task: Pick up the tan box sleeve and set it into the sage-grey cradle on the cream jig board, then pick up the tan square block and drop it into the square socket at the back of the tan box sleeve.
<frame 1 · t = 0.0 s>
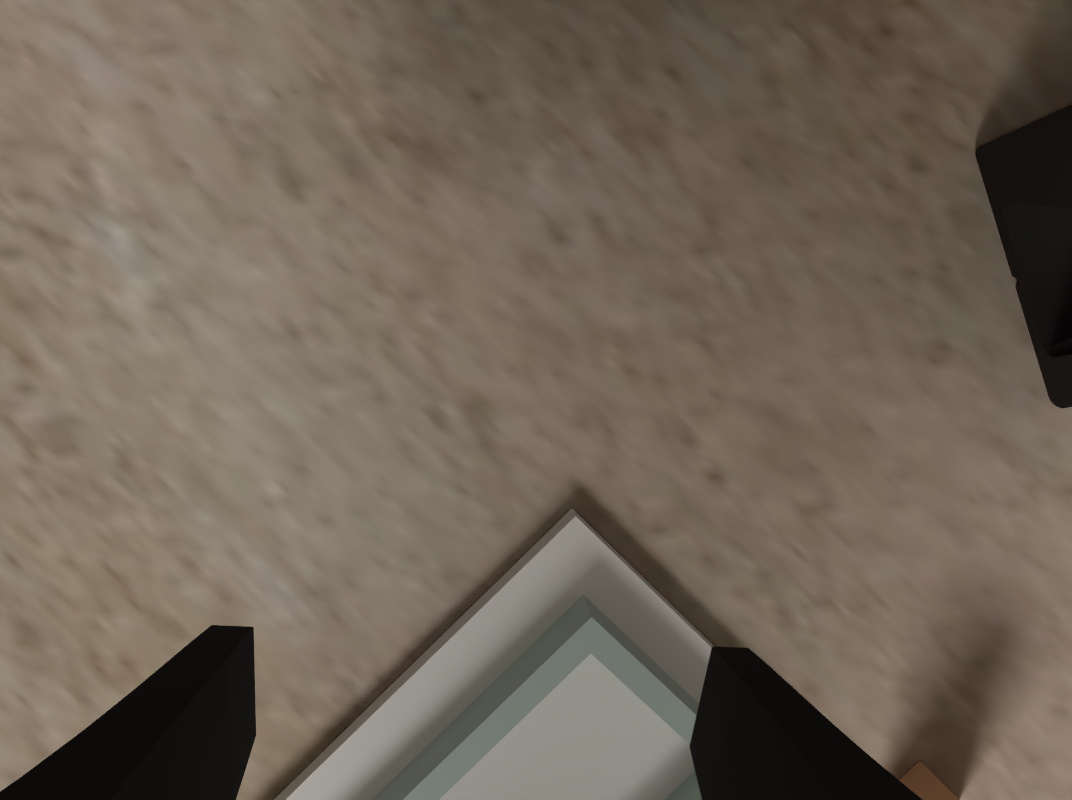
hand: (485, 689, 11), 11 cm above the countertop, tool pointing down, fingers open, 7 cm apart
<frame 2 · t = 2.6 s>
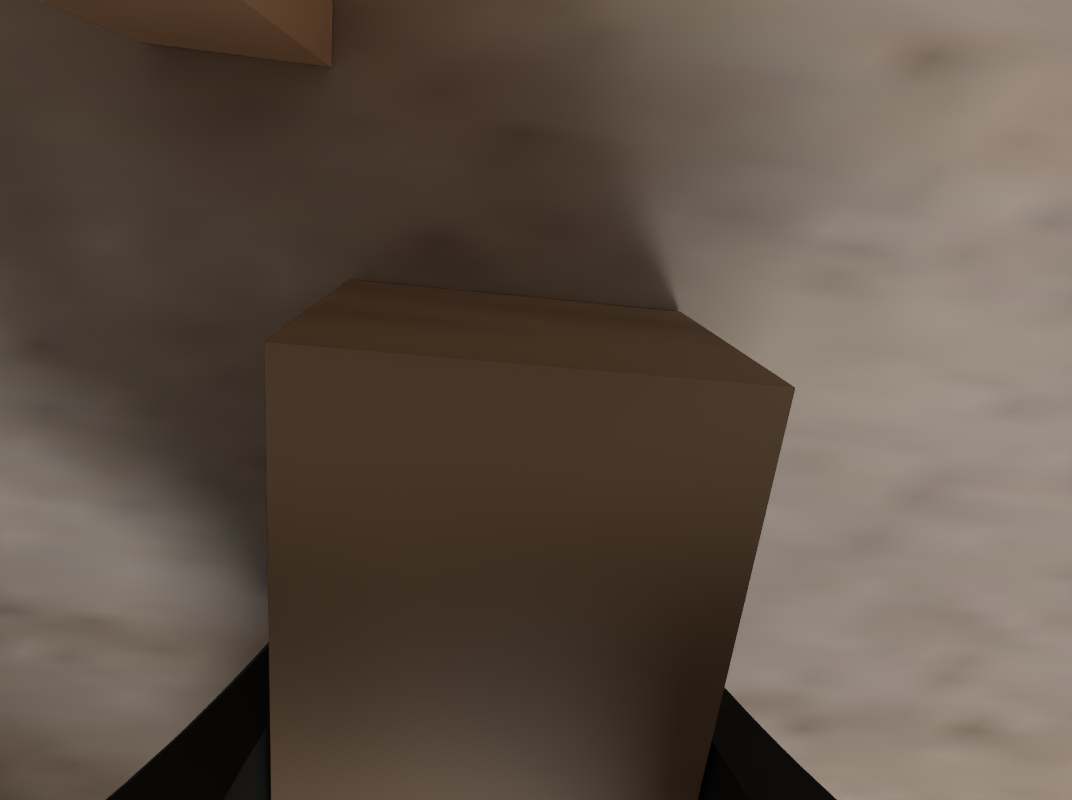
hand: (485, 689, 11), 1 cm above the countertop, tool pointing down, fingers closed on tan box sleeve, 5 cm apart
tan box sleeve: (484, 632, 12), on the countertop, touching gripper
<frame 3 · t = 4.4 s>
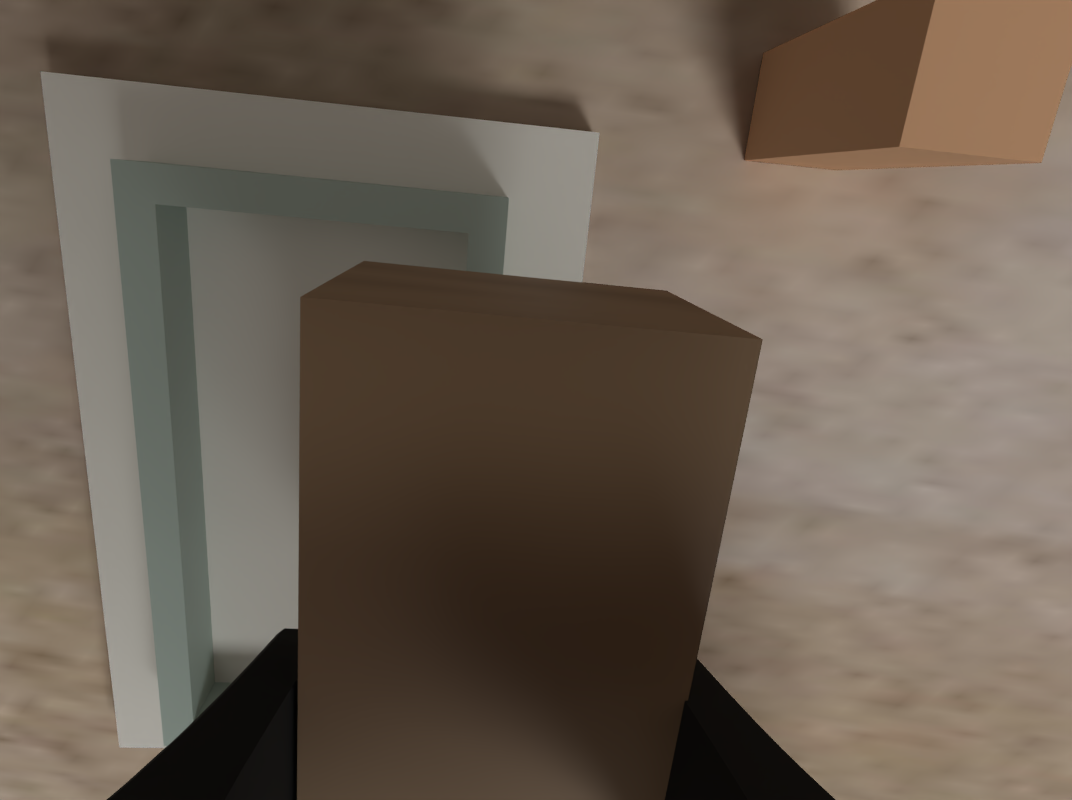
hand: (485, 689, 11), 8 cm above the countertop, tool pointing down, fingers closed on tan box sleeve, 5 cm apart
tan box sleeve: (487, 594, 13), point 6 cm above the countertop, touching gripper
cradle: (336, 464, 18), on the countertop
tan square block: (800, 113, 16), on the countertop
when the fingers open (3 cm above the countertop, at t = 6.2 s): tan box sleeve stays where it is, resting on cradle.
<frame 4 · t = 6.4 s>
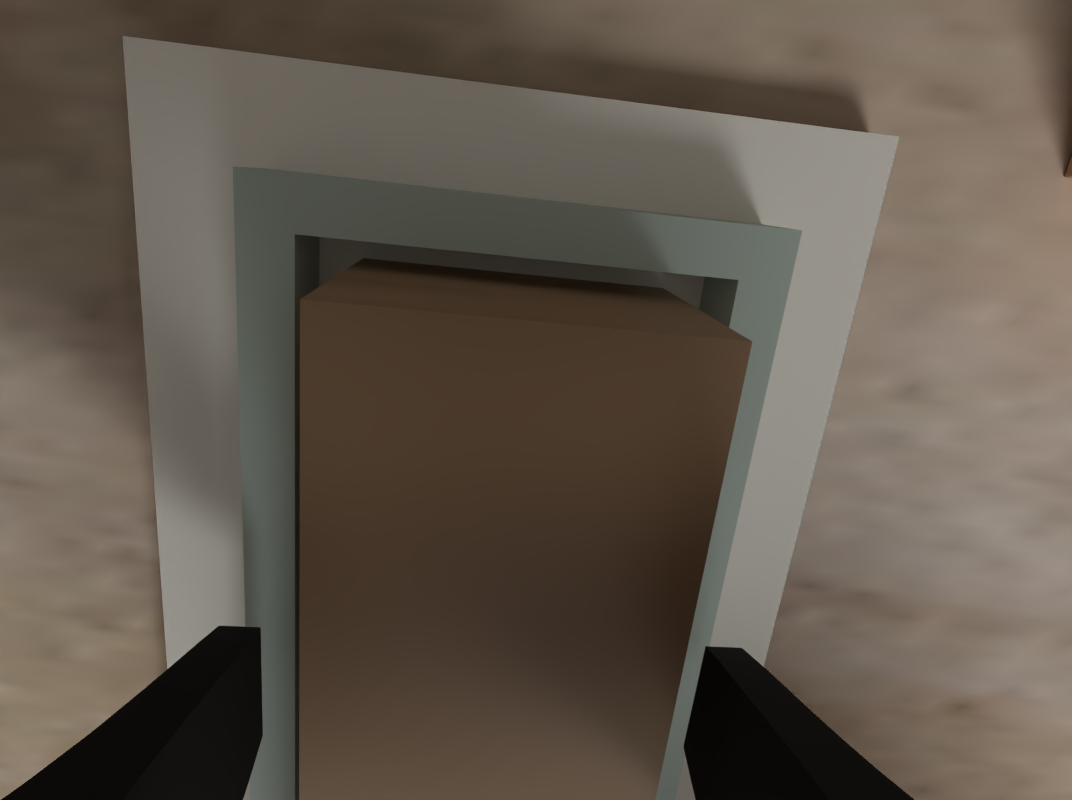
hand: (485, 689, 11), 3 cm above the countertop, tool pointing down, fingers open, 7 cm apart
tan box sleeve: (485, 584, 13), point 1 cm above the countertop, touching cradle
cradle: (484, 570, 14), on the countertop
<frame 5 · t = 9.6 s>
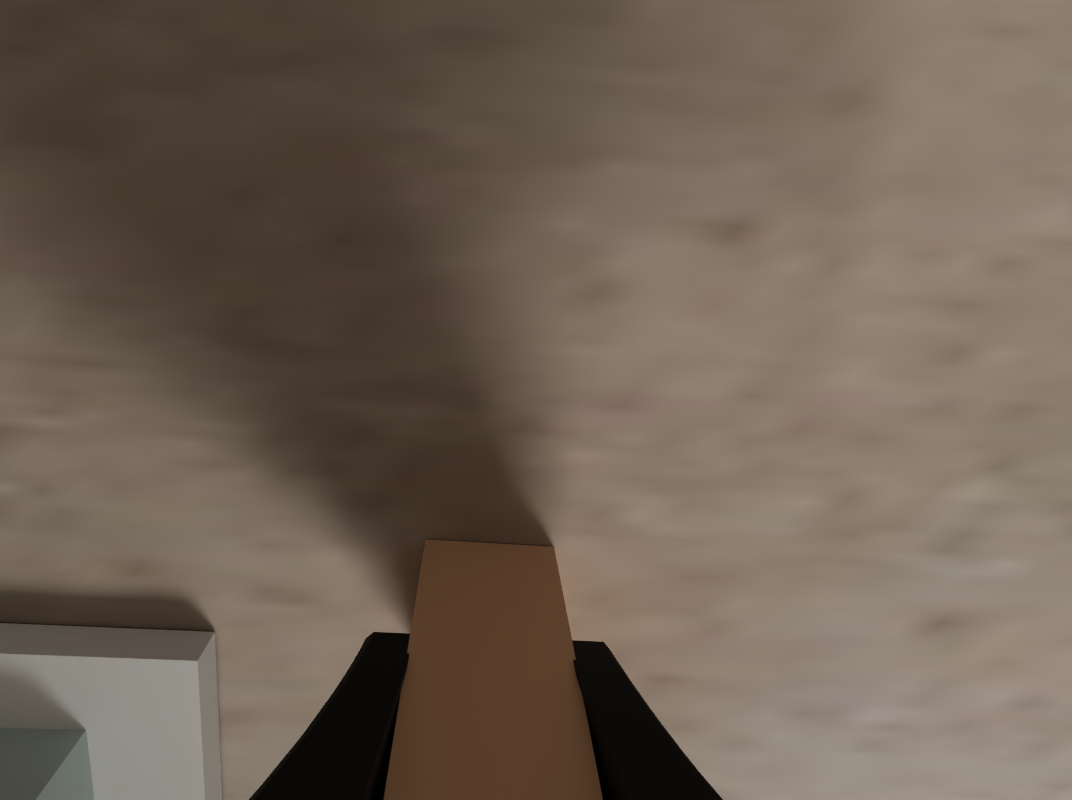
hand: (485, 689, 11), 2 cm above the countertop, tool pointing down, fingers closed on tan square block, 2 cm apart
tan square block: (484, 598, 13), on the countertop, touching gripper
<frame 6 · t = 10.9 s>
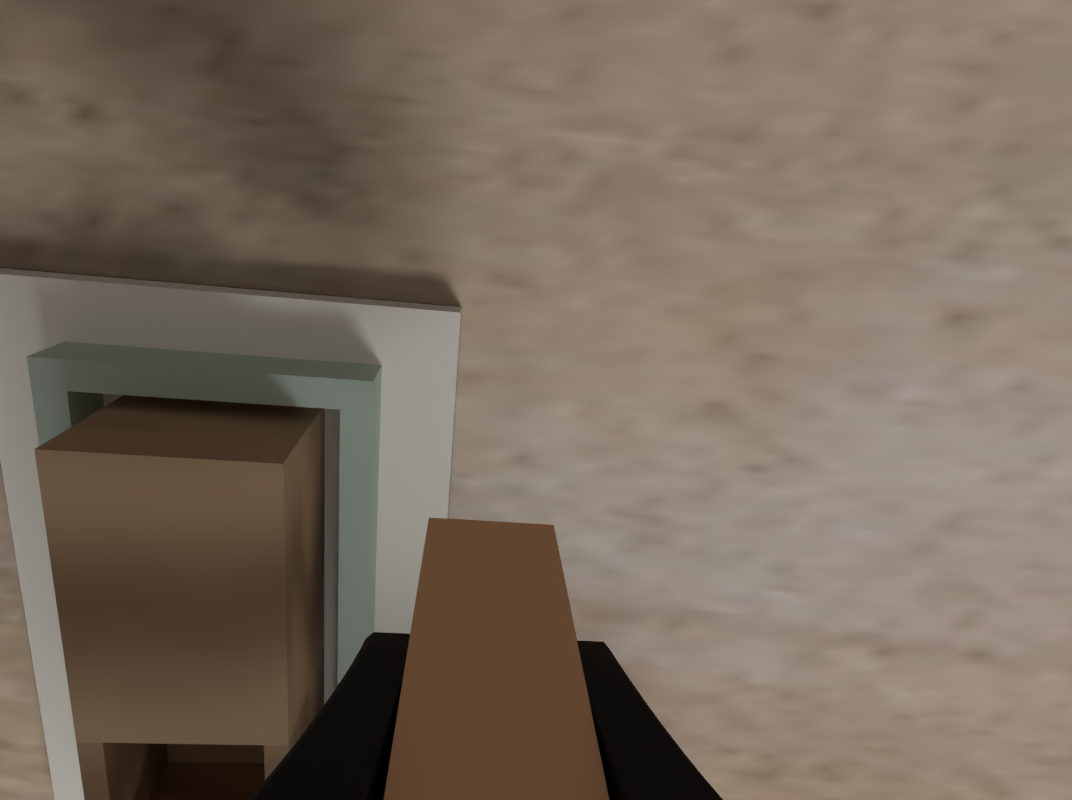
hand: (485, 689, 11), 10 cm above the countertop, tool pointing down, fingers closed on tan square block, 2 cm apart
tan box sleeve: (237, 589, 20), point 1 cm above the countertop, touching cradle
cradle: (246, 579, 21), on the countertop
tan square block: (486, 575, 13), point 7 cm above the countertop, touching gripper
when the fingers open (6 cm above the countertop, at t = 12.7 s): tan square block stays where it is, resting on tan box sleeve.
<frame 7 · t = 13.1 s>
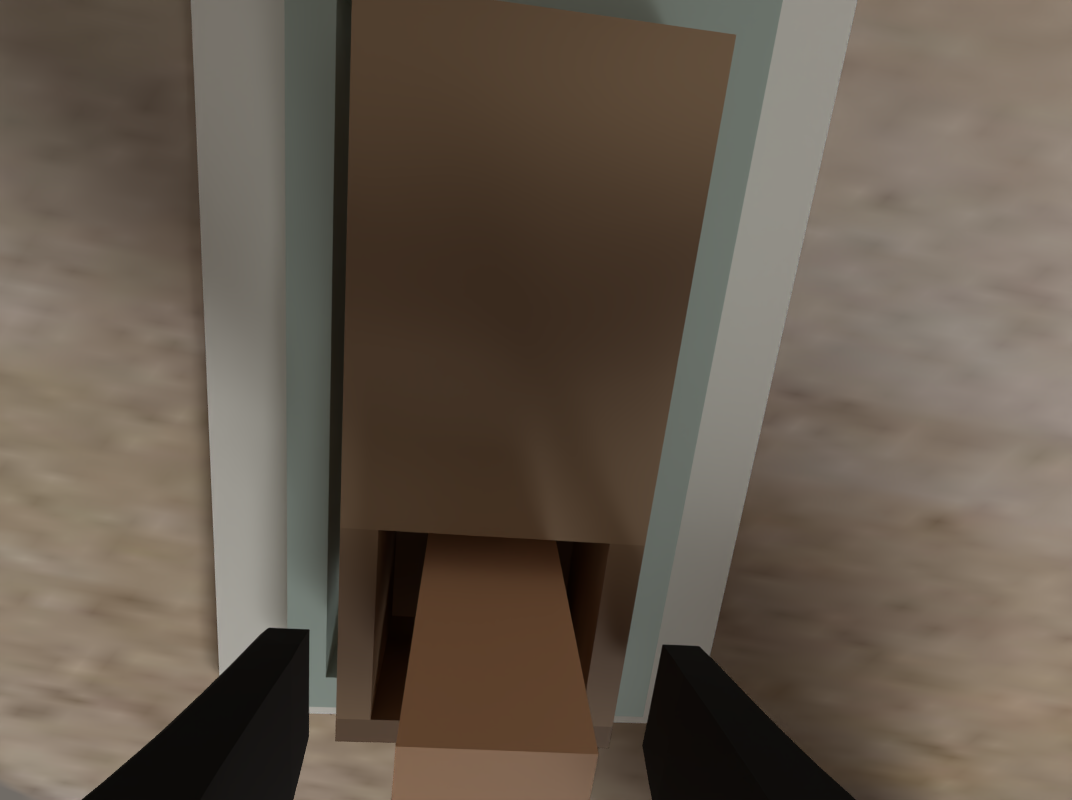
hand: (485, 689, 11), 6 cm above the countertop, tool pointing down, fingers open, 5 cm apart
tan box sleeve: (499, 371, 14), point 1 cm above the countertop, touching cradle, tan square block
cradle: (498, 369, 15), on the countertop
tan square block: (486, 548, 14), point 2 cm above the countertop, touching tan box sleeve
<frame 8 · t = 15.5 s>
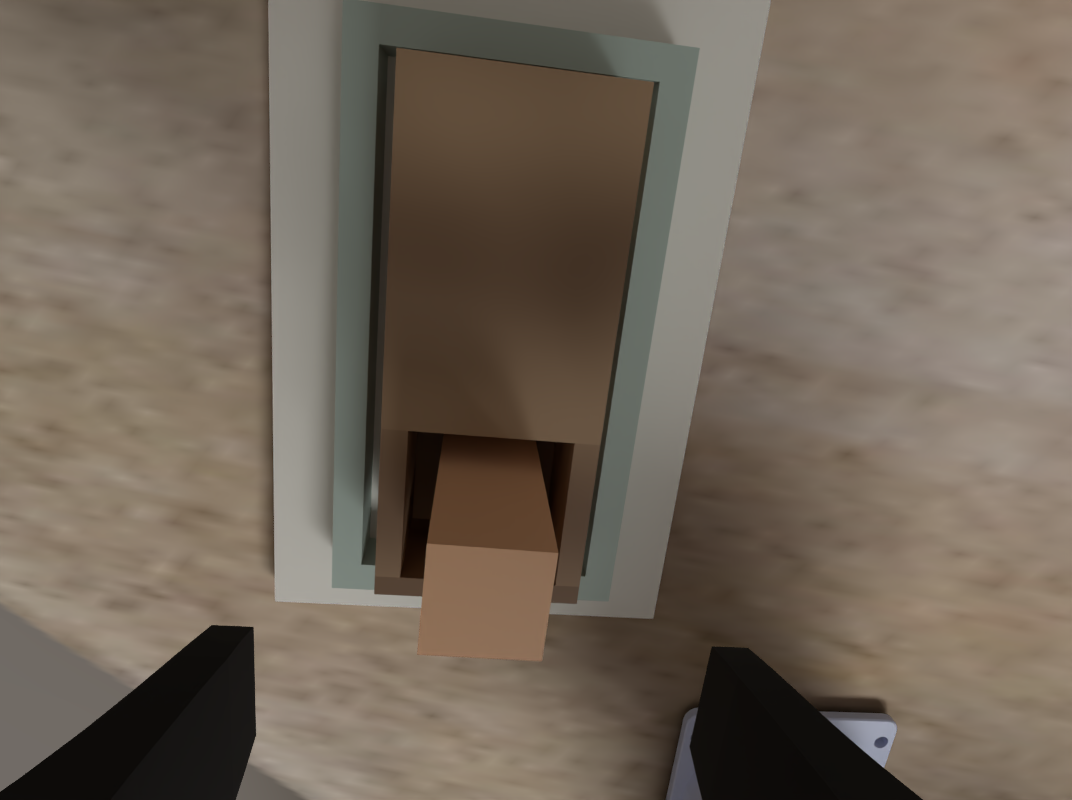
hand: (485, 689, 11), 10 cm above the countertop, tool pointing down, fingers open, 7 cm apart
tan box sleeve: (495, 327, 18), point 1 cm above the countertop, touching cradle, tan square block
cradle: (494, 327, 19), on the countertop
tan square block: (485, 464, 19), point 2 cm above the countertop, touching tan box sleeve
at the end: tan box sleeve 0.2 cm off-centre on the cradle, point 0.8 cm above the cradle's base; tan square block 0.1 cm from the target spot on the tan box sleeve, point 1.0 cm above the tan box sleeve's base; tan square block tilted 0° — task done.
